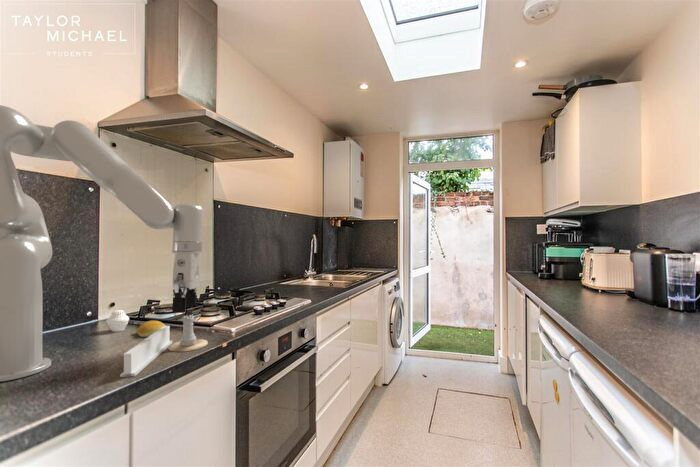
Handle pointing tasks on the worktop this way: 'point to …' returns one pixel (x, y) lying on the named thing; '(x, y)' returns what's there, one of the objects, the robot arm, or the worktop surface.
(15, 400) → the worktop surface
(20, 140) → the robot arm
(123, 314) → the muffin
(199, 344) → the cork coaster
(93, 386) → the worktop surface
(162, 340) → the divider wall
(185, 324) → the rook chess piece
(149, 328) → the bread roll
